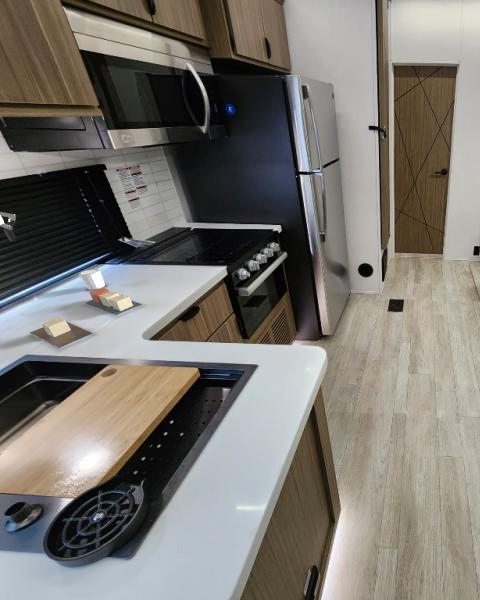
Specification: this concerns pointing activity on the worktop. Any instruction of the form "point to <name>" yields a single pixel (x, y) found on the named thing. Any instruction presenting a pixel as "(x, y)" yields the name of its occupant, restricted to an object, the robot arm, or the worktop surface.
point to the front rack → (62, 335)
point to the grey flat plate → (111, 309)
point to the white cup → (92, 279)
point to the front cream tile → (56, 327)
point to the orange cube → (98, 294)
